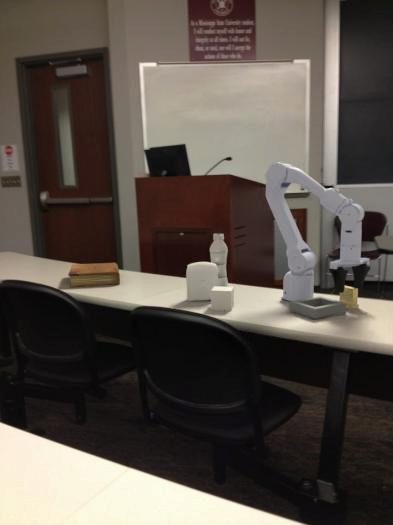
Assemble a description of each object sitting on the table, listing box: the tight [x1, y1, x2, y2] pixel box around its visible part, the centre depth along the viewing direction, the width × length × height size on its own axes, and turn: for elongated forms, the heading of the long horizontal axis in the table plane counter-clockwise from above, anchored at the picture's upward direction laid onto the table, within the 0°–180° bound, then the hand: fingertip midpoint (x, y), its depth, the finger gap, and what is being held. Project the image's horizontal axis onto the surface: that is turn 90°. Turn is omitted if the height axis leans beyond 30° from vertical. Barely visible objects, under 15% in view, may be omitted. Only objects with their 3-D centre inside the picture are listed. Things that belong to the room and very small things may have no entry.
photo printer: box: [185, 261, 218, 302], centre depth 142 cm, size 10×4×12 cm, turn 96°
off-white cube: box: [210, 286, 235, 312], centre depth 132 cm, size 6×6×6 cm
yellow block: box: [338, 285, 360, 310], centre depth 132 cm, size 4×5×6 cm
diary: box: [68, 262, 121, 288], centre depth 177 cm, size 23×19×6 cm
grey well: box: [289, 295, 347, 321], centre depth 126 cm, size 10×12×3 cm
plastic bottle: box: [209, 233, 229, 287], centre depth 155 cm, size 6×7×20 cm
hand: (349, 290), depth 132 cm, fingers open, 7 cm apart
